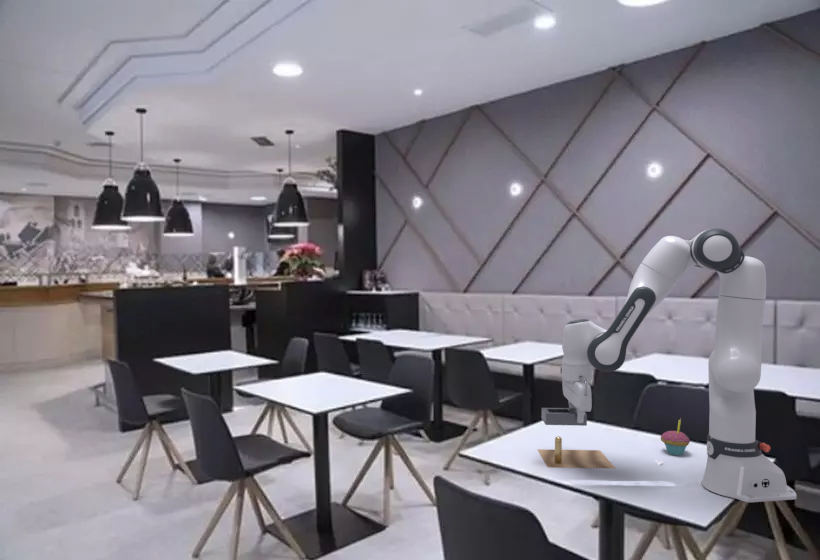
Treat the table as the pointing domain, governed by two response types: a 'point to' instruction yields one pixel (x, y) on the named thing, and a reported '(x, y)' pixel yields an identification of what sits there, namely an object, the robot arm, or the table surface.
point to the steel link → (561, 416)
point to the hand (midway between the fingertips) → (576, 418)
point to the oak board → (576, 459)
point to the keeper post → (558, 450)
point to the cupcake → (675, 441)
